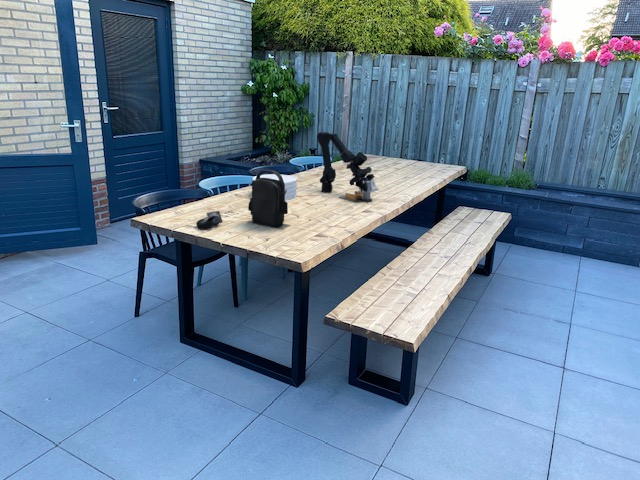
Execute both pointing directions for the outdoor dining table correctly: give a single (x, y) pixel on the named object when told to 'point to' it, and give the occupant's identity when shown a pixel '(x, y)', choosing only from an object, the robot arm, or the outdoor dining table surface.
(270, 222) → the black backpack
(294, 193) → the plate stack
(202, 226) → the caster wheel
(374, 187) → the hinge
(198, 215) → the outdoor dining table surface
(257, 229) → the outdoor dining table surface
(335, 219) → the outdoor dining table surface
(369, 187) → the grey piece
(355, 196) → the keeper cradle
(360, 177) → the robot arm
